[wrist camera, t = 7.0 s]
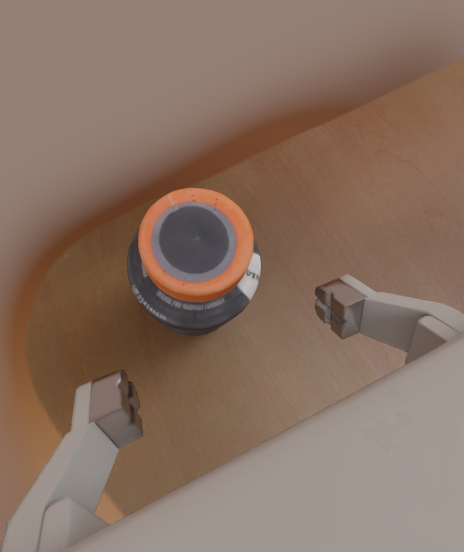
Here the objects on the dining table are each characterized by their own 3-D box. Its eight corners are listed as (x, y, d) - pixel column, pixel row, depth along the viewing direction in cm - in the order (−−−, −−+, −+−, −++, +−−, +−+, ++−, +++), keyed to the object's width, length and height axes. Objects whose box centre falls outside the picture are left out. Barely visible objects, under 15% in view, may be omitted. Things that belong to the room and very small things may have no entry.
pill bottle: (248, 283, 21) (312, 218, 10) (207, 351, 19) (228, 365, 8) (183, 242, 21) (174, 132, 10) (136, 307, 19) (62, 260, 8)
